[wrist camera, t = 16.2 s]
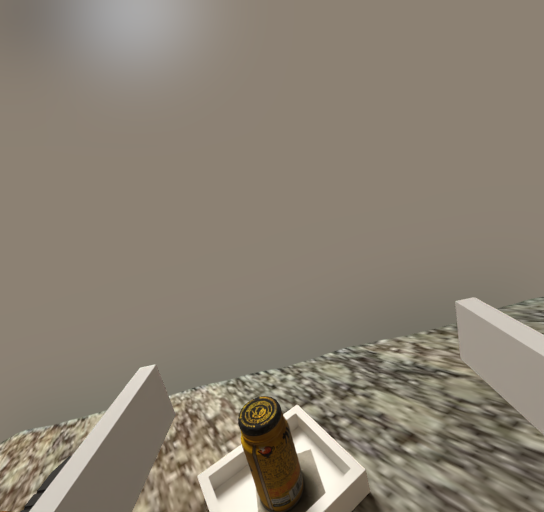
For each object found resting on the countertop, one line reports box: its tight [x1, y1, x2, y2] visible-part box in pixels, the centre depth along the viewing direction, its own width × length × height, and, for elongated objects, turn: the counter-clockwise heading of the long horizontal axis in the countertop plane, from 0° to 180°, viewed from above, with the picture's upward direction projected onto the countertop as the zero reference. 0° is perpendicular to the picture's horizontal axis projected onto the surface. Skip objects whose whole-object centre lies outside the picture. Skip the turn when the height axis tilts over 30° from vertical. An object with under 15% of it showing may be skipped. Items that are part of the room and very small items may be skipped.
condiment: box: [238, 396, 326, 512], centre depth 34 cm, size 7×8×12 cm
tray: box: [197, 405, 370, 512], centre depth 35 cm, size 17×14×4 cm
